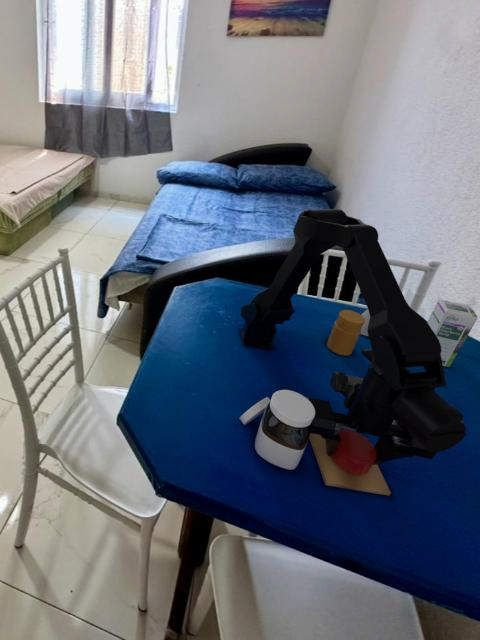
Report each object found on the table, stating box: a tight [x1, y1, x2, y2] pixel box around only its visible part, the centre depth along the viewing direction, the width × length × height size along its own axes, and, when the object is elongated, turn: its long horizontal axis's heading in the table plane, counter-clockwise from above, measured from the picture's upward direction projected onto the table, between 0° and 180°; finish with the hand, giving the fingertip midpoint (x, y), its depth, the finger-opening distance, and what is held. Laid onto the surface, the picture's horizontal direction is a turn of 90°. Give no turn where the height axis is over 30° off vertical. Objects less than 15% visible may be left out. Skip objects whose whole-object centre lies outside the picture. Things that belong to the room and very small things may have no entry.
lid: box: [331, 429, 377, 475], centre depth 70 cm, size 6×6×3 cm
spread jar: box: [238, 389, 315, 471], centre depth 72 cm, size 12×11×12 cm
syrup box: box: [426, 298, 478, 368], centre depth 94 cm, size 6×6×14 cm
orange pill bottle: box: [326, 309, 365, 356], centre depth 97 cm, size 6×6×10 cm
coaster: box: [309, 433, 392, 497], centre depth 72 cm, size 10×10×1 cm
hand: (348, 458), depth 71 cm, fingers closed on lid, 6 cm apart
